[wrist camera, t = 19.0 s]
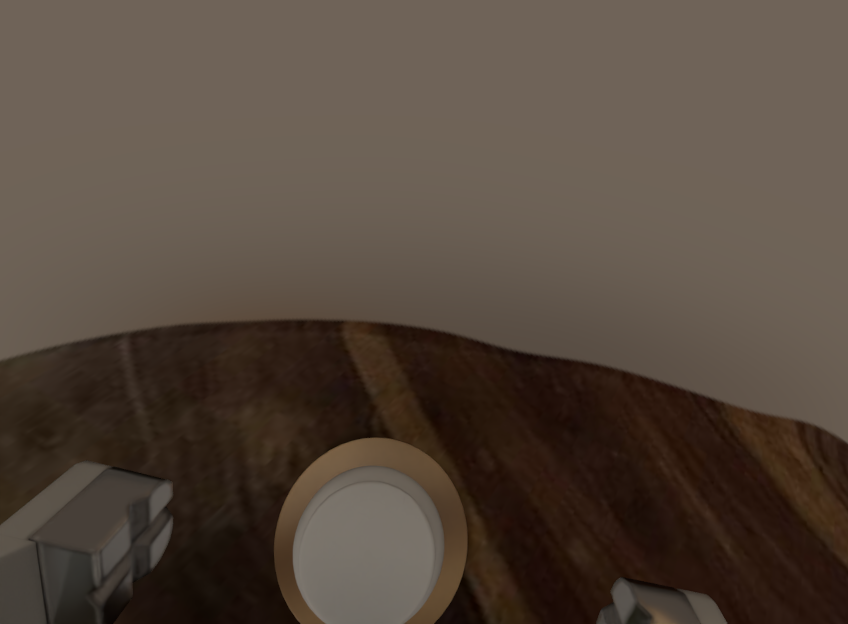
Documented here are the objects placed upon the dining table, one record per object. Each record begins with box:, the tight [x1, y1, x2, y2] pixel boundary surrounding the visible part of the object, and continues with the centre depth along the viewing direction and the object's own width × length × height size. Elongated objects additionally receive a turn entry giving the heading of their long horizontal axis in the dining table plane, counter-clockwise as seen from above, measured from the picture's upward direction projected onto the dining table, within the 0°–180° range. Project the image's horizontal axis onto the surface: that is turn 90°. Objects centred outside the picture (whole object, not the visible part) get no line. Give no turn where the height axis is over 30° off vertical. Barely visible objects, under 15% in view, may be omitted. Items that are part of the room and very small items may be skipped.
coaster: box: [274, 437, 468, 624], centre depth 21 cm, size 9×9×1 cm
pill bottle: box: [293, 466, 444, 624], centre depth 17 cm, size 5×5×9 cm
